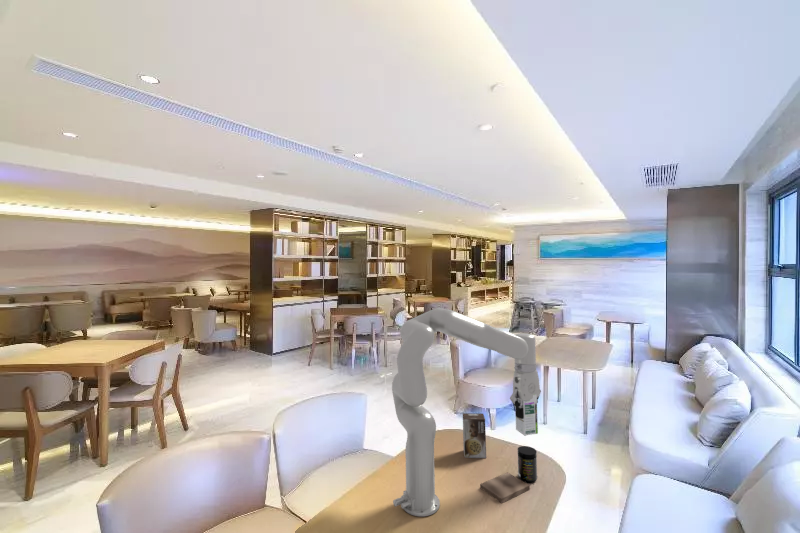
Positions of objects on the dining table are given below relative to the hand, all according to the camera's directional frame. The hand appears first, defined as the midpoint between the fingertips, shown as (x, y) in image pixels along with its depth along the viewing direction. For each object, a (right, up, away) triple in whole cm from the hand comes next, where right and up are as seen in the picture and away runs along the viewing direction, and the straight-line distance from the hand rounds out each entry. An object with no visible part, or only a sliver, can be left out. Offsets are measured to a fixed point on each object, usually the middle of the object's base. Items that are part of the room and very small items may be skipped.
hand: (526, 415), depth 135 cm
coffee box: (-16, -24, +18) cm, 34 cm away
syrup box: (0, -6, 0) cm, 6 cm away
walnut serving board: (-10, -23, -7) cm, 26 cm away
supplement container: (0, -24, 0) cm, 24 cm away
